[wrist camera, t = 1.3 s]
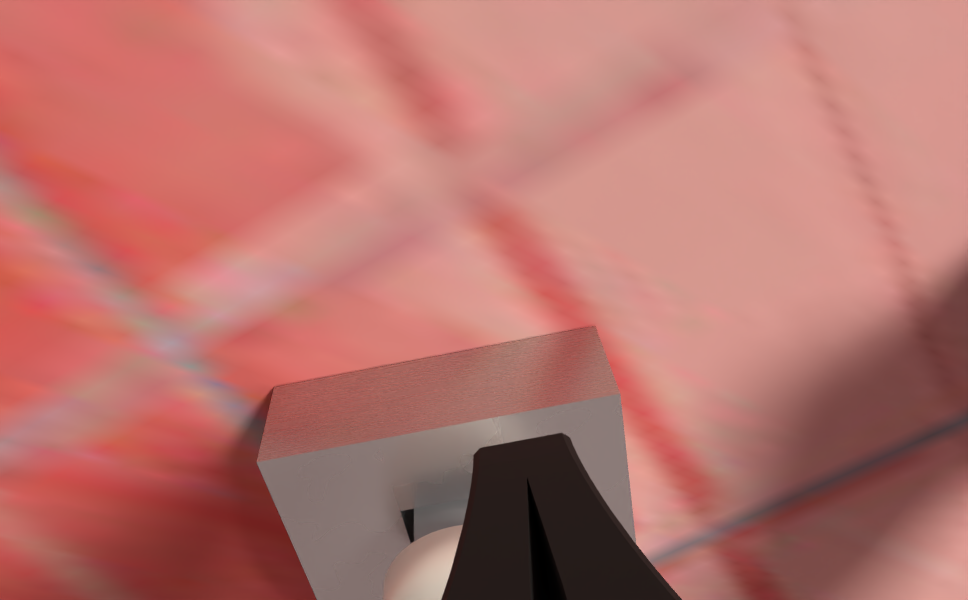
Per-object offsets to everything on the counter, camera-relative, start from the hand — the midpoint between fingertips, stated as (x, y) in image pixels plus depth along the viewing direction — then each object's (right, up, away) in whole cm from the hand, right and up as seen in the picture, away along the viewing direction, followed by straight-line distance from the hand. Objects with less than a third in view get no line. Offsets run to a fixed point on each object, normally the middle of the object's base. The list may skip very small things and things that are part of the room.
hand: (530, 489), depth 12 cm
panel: (0, -7, +15) cm, 17 cm away
